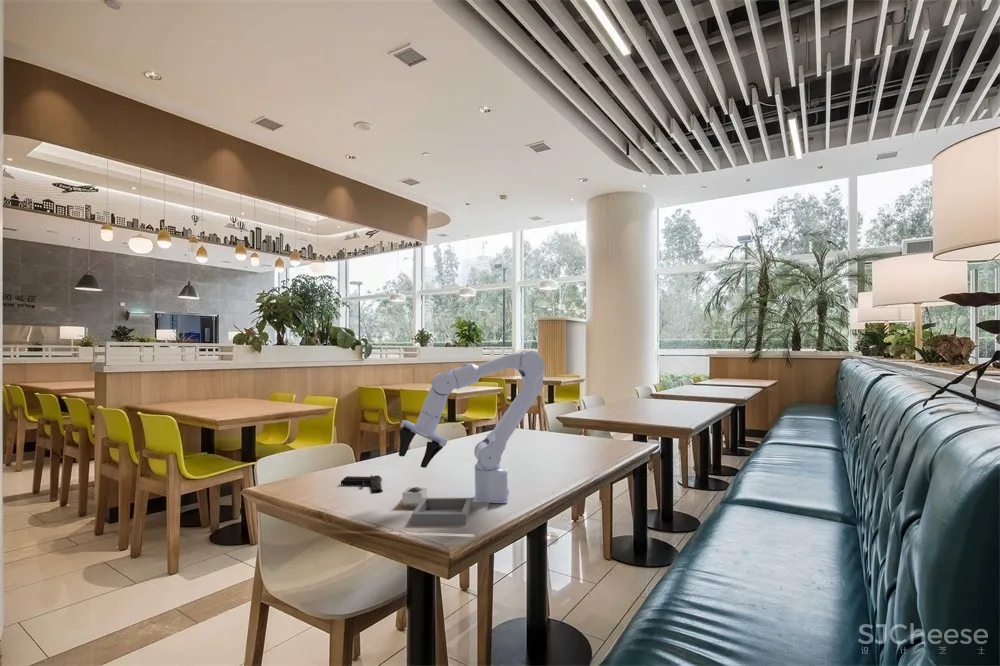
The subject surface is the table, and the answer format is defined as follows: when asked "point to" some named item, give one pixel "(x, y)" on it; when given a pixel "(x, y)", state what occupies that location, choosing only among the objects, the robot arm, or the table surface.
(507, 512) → the table surface
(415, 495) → the collar
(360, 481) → the handgun
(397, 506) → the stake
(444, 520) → the tray
